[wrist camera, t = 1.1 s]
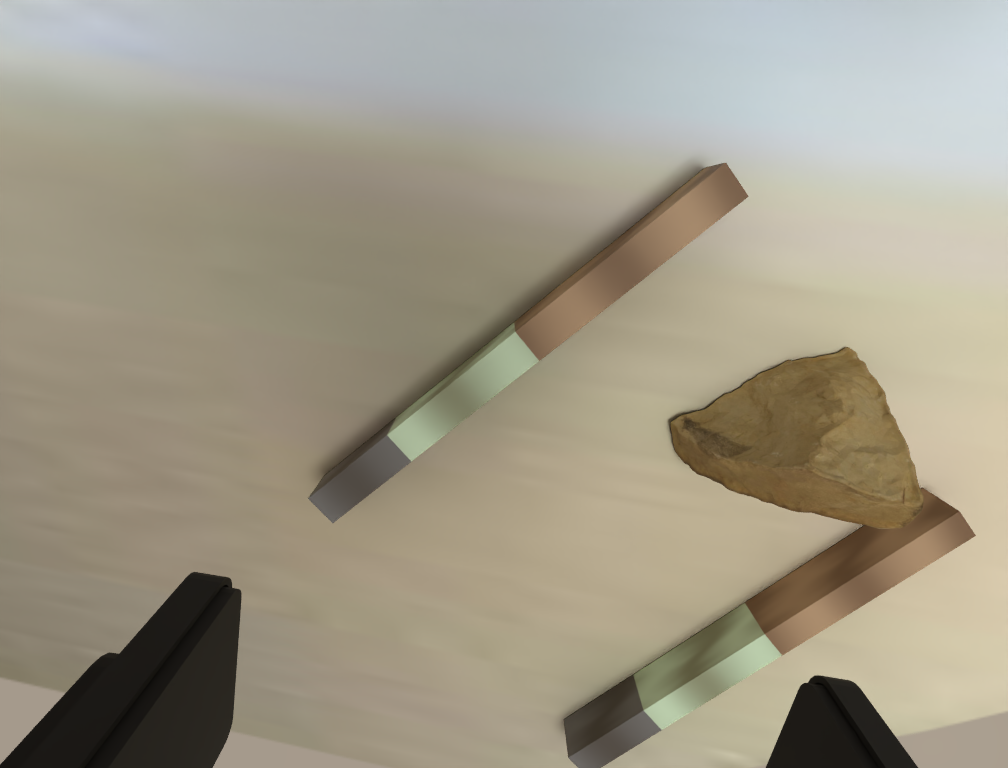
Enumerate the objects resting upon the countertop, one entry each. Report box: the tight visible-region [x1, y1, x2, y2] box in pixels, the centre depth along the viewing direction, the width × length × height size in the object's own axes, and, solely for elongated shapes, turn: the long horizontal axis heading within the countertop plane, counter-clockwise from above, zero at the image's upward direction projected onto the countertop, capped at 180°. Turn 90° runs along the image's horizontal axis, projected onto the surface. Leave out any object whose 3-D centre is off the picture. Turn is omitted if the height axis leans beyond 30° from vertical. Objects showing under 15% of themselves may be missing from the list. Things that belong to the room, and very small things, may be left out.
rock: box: [670, 347, 924, 529], centre depth 31 cm, size 11×9×10 cm
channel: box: [308, 163, 976, 768], centre depth 35 cm, size 28×26×3 cm
